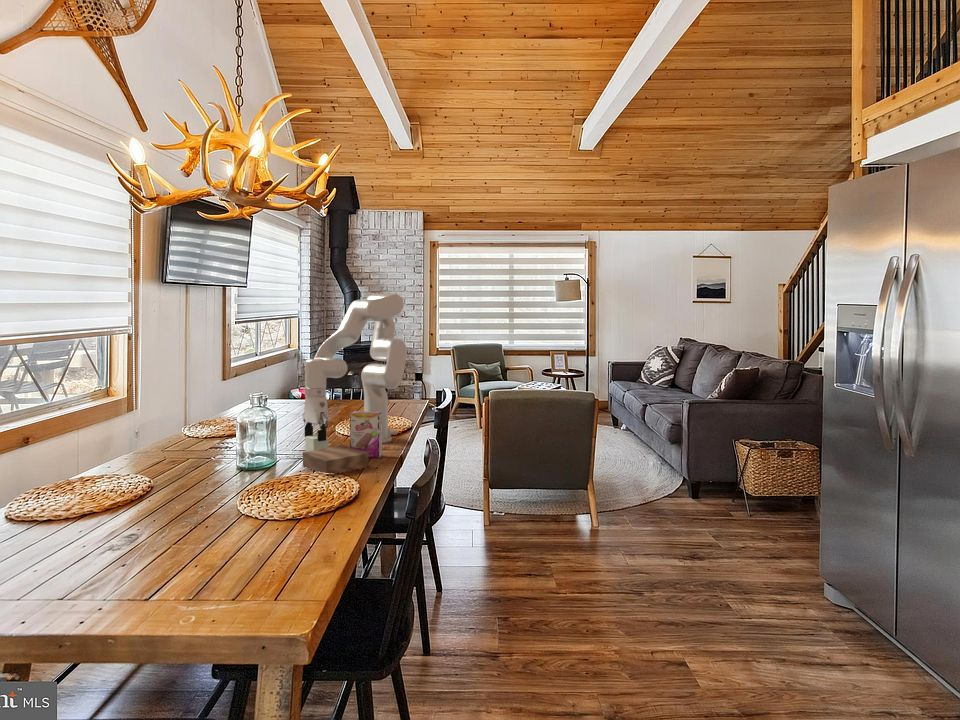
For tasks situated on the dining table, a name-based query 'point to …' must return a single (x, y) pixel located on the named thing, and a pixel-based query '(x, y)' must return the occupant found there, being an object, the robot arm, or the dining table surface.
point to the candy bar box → (366, 432)
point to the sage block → (315, 443)
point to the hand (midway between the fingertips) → (315, 438)
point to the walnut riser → (335, 459)
